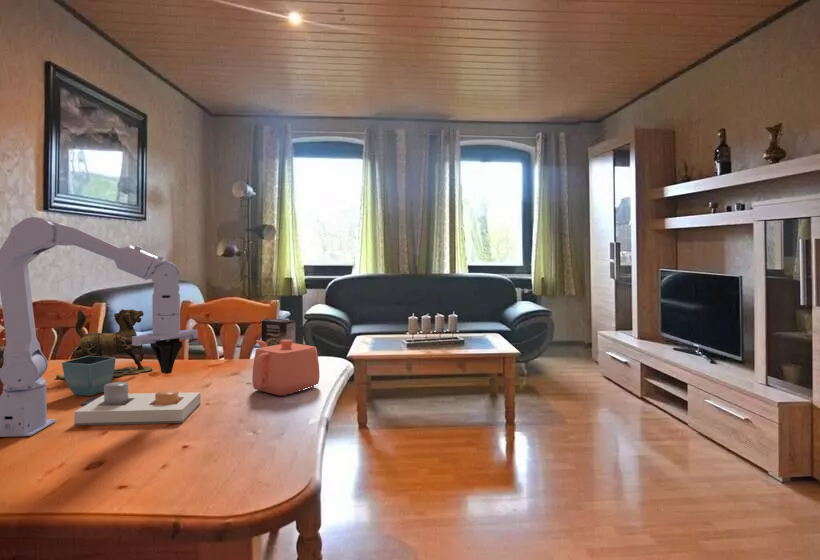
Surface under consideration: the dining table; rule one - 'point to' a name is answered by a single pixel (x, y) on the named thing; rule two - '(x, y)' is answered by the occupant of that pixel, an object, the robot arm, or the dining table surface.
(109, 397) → the grey button
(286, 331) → the coffee box
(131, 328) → the figurine
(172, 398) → the tan button
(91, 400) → the mat
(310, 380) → the teapot
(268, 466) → the dining table surface
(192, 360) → the dining table surface
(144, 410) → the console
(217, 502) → the dining table surface
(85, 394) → the flower pot
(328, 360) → the dining table surface
